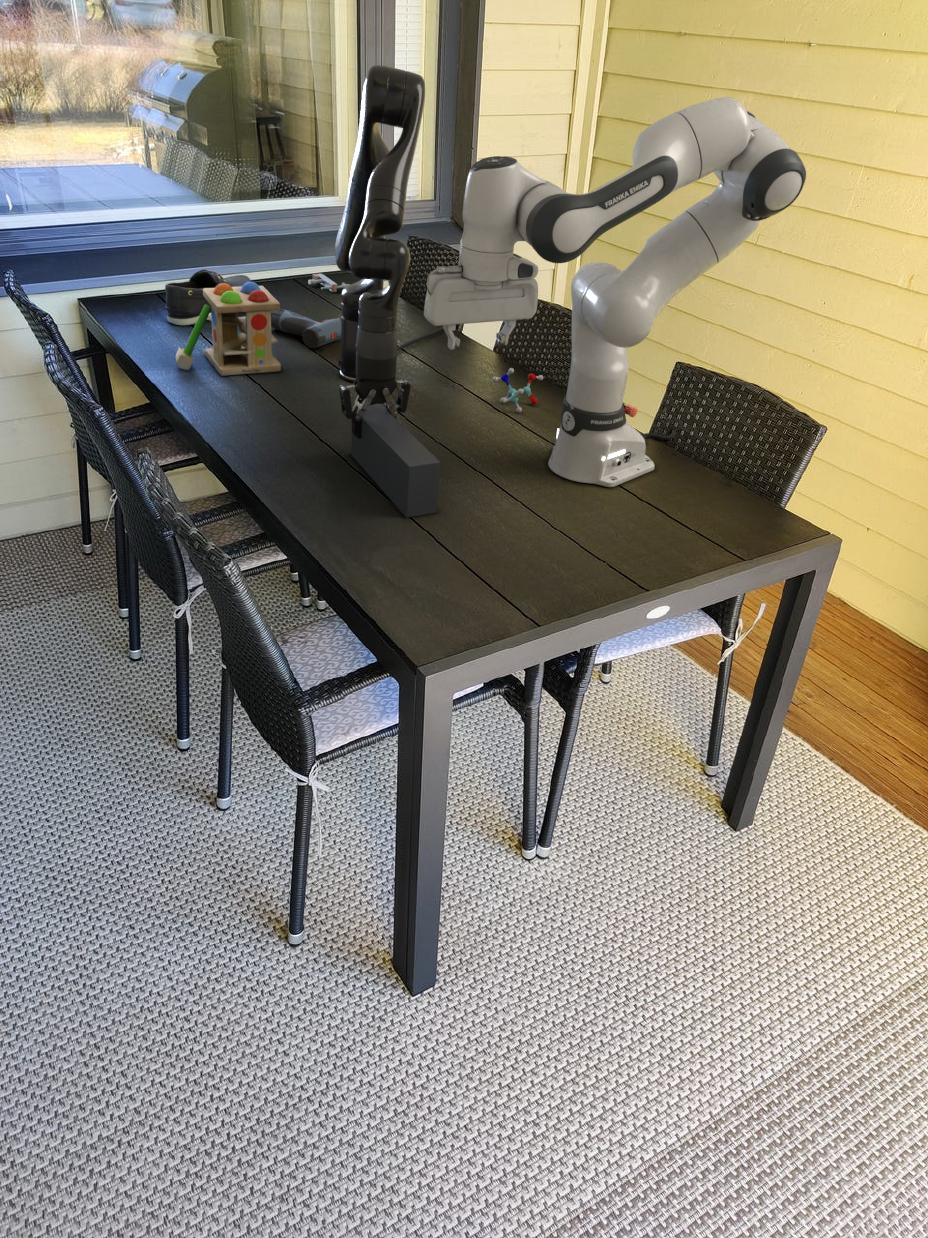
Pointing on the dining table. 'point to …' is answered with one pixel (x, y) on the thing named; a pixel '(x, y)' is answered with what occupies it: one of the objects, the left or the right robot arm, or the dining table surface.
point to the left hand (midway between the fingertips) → (373, 434)
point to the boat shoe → (194, 295)
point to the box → (397, 462)
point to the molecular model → (513, 392)
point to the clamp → (326, 282)
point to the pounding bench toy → (229, 347)
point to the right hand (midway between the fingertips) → (477, 346)
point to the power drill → (307, 327)
